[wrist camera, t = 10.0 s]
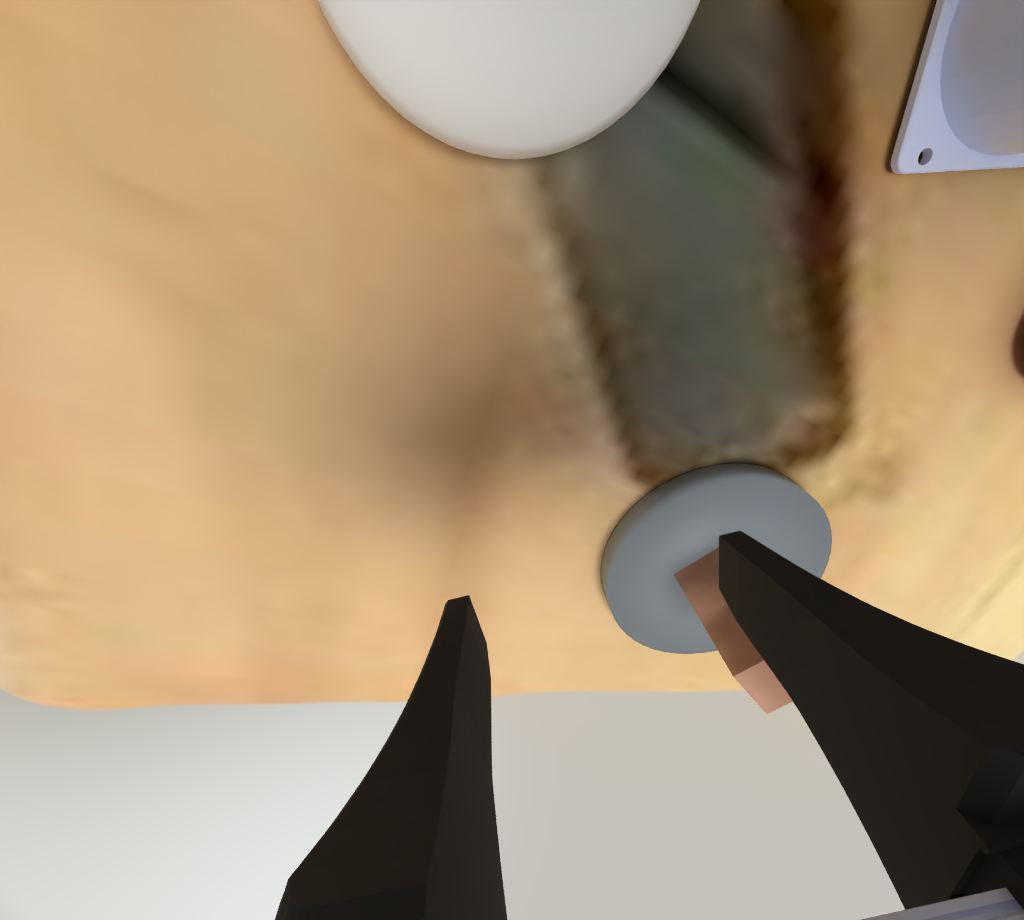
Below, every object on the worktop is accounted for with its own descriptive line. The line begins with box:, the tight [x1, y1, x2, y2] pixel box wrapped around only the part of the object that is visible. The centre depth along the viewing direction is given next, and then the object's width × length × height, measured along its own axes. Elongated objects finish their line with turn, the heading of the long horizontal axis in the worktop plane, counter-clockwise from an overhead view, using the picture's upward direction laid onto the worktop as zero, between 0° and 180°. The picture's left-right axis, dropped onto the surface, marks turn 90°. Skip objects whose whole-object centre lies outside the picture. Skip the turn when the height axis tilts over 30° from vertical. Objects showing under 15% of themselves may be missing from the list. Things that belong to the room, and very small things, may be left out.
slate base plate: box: [601, 463, 832, 654], centre depth 25 cm, size 12×12×2 cm
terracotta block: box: [674, 547, 792, 714], centre depth 22 cm, size 4×4×6 cm
